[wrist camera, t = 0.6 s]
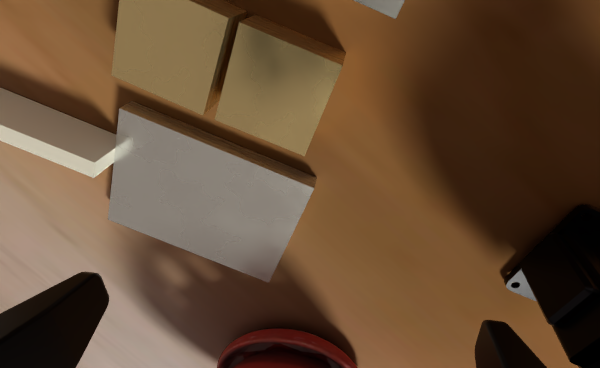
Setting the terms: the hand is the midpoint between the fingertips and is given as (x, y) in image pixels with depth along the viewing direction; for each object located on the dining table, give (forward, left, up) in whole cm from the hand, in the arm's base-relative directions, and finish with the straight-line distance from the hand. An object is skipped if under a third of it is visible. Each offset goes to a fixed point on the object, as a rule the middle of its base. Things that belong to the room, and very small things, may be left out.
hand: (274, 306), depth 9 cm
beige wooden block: (+8, -1, -13) cm, 15 cm away
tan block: (+3, -1, -13) cm, 13 cm away
